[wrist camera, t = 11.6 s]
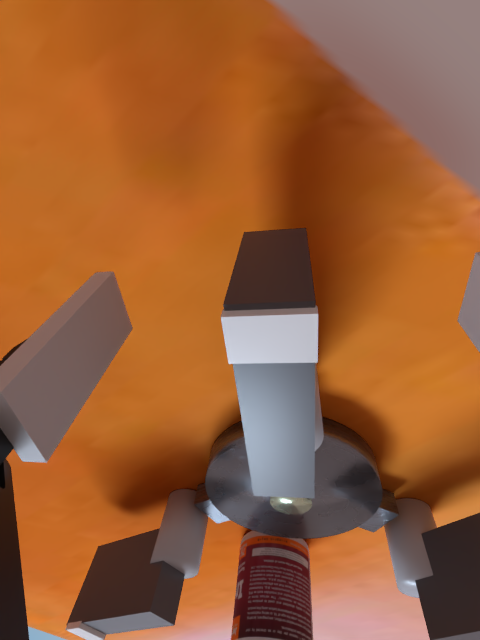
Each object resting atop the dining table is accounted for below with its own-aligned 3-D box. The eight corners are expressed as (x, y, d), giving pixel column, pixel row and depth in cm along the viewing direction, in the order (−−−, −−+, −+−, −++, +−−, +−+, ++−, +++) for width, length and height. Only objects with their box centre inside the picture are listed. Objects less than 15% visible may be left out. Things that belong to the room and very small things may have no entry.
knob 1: (191, 484, 29) (161, 610, 22) (219, 506, 30) (199, 631, 23) (105, 514, 33) (57, 627, 26) (132, 532, 35) (94, 644, 28)
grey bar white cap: (316, 387, 21) (329, 530, 15) (256, 387, 22) (243, 525, 15) (317, 207, 16) (341, 306, 9) (236, 214, 16) (199, 311, 9)
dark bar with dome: (400, 528, 29) (436, 666, 22) (371, 509, 28) (398, 648, 21) (538, 476, 24) (641, 637, 17) (508, 451, 23) (604, 611, 16)
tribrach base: (182, 490, 29) (174, 523, 27) (260, 371, 21) (257, 404, 19) (328, 541, 31) (332, 575, 29) (452, 449, 23) (468, 487, 21)
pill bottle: (232, 525, 32) (210, 703, 23) (301, 522, 30) (307, 712, 21) (251, 558, 35) (238, 726, 26) (314, 557, 33) (324, 736, 24)
